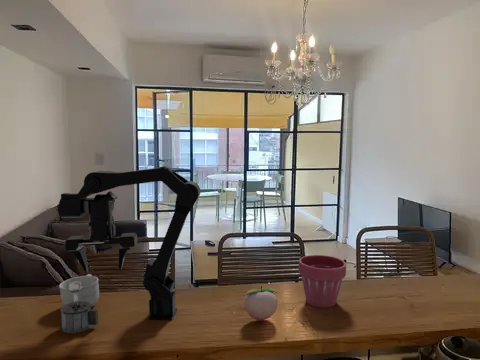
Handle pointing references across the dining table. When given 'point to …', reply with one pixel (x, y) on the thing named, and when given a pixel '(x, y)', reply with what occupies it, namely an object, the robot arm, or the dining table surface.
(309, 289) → the plant pot
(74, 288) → the plunger
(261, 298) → the decorative fruit
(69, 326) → the octagonal grey mug
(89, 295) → the teacup
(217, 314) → the dining table surface
